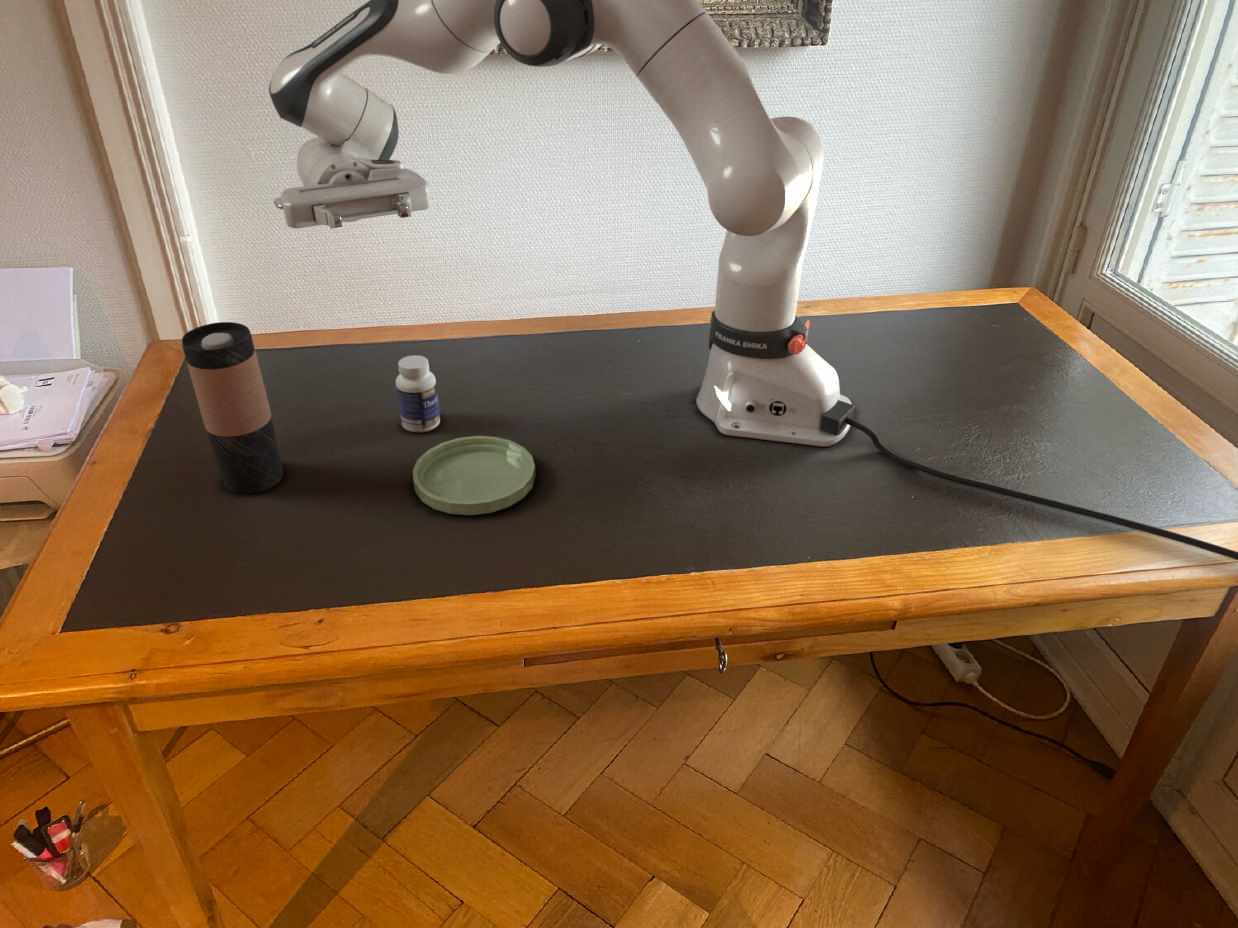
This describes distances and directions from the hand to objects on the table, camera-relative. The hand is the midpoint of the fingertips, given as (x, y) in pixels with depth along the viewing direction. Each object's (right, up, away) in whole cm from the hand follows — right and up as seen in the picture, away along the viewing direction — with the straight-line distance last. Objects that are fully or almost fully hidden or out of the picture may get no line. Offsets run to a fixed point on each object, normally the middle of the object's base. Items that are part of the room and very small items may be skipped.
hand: (371, 217), depth 119 cm
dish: (+15, -35, -6) cm, 39 cm away
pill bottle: (+5, -28, +6) cm, 29 cm away
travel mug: (-13, -35, -6) cm, 38 cm away
